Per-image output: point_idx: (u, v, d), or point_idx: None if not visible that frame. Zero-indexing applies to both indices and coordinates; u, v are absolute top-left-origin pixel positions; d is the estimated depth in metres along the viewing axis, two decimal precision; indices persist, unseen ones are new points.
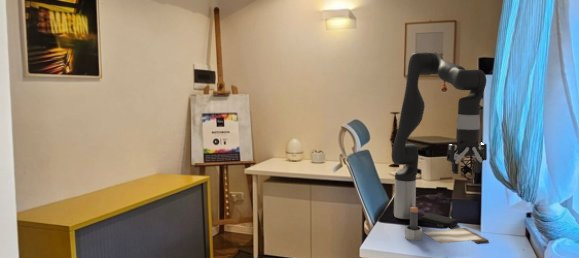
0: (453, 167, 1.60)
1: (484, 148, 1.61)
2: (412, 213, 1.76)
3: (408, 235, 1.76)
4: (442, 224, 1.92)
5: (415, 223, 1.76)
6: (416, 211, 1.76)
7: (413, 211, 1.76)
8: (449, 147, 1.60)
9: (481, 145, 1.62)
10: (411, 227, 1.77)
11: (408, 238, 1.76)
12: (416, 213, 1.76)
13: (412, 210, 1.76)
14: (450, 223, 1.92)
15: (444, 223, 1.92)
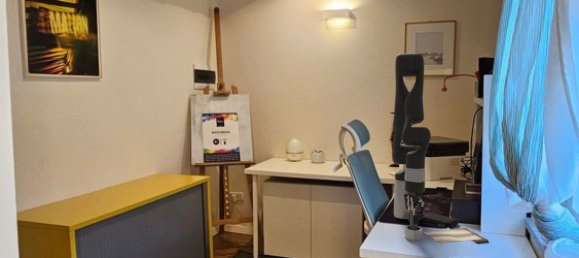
0: (417, 219, 1.75)
1: None
2: (412, 212, 1.76)
3: (408, 235, 1.76)
4: (443, 224, 1.92)
5: None
6: None
7: None
8: (422, 205, 1.70)
9: None
10: (411, 226, 1.77)
11: (408, 238, 1.76)
12: None
13: None
14: (451, 223, 1.92)
15: (445, 223, 1.92)
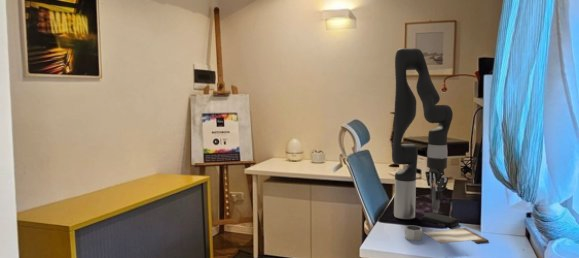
0: (440, 194, 1.79)
1: None
2: (434, 188, 1.80)
3: (408, 235, 1.76)
4: (443, 223, 1.93)
5: None
6: (438, 186, 1.80)
7: None
8: (444, 180, 1.75)
9: None
10: (433, 201, 1.81)
11: (408, 238, 1.76)
12: None
13: None
14: (451, 222, 1.93)
15: (445, 222, 1.93)
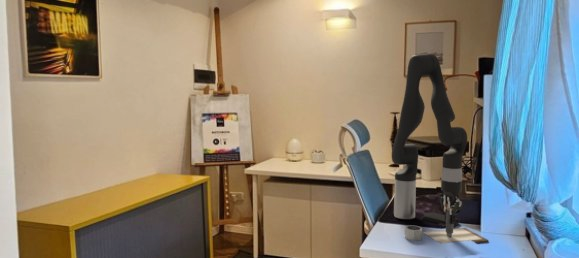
0: (454, 218, 1.76)
1: None
2: (449, 211, 1.77)
3: (408, 235, 1.76)
4: (444, 223, 1.93)
5: None
6: None
7: None
8: (459, 205, 1.72)
9: None
10: (447, 225, 1.78)
11: (408, 238, 1.76)
12: None
13: None
14: None
15: None
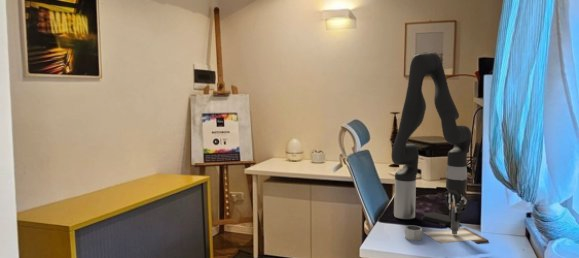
0: (459, 216, 1.78)
1: None
2: (454, 209, 1.79)
3: (408, 235, 1.76)
4: (444, 223, 1.93)
5: None
6: None
7: None
8: (464, 202, 1.73)
9: None
10: (452, 223, 1.80)
11: (408, 238, 1.76)
12: None
13: None
14: None
15: (446, 222, 1.93)
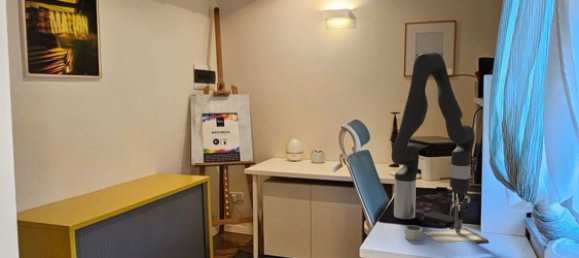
0: (462, 214, 1.81)
1: None
2: (457, 207, 1.82)
3: (408, 235, 1.76)
4: (444, 223, 1.94)
5: None
6: (461, 205, 1.82)
7: None
8: (468, 201, 1.77)
9: None
10: (456, 221, 1.83)
11: (408, 238, 1.76)
12: None
13: None
14: (452, 222, 1.94)
15: (446, 222, 1.94)
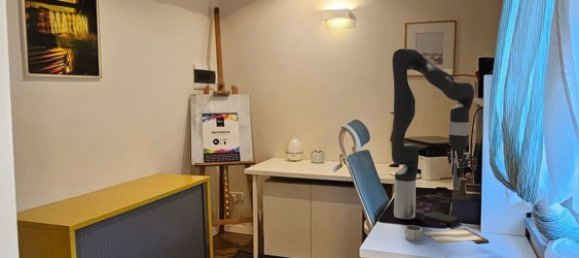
0: (461, 171, 1.81)
1: None
2: (456, 165, 1.82)
3: (408, 235, 1.76)
4: (445, 222, 1.94)
5: None
6: None
7: None
8: (467, 157, 1.76)
9: None
10: (455, 179, 1.83)
11: (408, 238, 1.76)
12: None
13: (456, 162, 1.82)
14: (453, 221, 1.94)
15: (447, 221, 1.94)
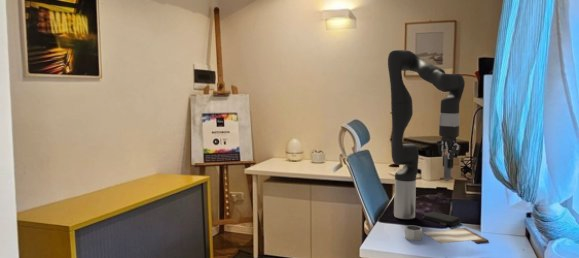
0: (452, 162, 1.81)
1: None
2: (446, 156, 1.82)
3: (408, 235, 1.76)
4: (445, 222, 1.94)
5: None
6: (450, 154, 1.82)
7: None
8: (457, 148, 1.77)
9: None
10: (445, 170, 1.83)
11: (408, 238, 1.76)
12: None
13: None
14: (453, 221, 1.94)
15: (447, 221, 1.94)
